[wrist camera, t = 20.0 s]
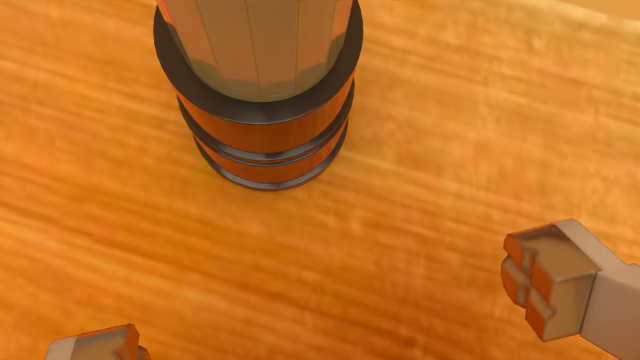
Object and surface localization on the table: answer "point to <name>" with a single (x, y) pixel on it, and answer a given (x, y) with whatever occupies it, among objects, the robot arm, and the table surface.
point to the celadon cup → (258, 43)
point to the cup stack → (266, 118)
